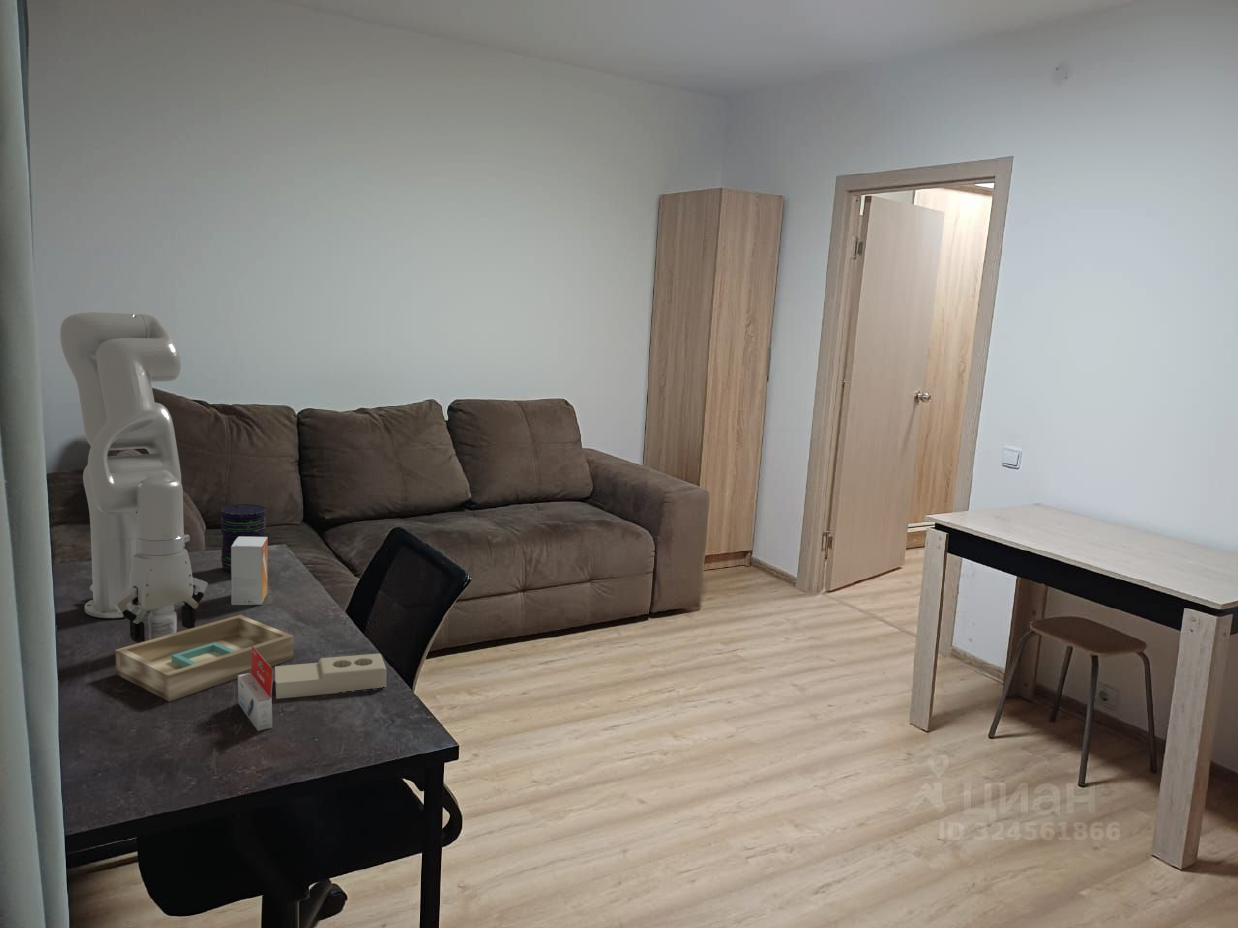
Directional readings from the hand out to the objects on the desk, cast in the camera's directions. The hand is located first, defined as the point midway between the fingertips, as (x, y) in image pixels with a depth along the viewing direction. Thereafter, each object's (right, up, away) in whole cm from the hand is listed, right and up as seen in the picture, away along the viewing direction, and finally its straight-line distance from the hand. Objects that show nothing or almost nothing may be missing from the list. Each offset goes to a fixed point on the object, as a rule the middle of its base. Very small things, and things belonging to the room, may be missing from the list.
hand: (163, 634), depth 170 cm
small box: (+5, +2, +28) cm, 29 cm away
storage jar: (-4, +6, +47) cm, 47 cm away
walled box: (+11, -4, -7) cm, 14 cm away
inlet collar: (+11, -4, -7) cm, 14 cm away
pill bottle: (0, -2, +1) cm, 3 cm away
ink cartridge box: (+26, -9, -23) cm, 36 cm away
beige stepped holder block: (+34, -7, -10) cm, 37 cm away
